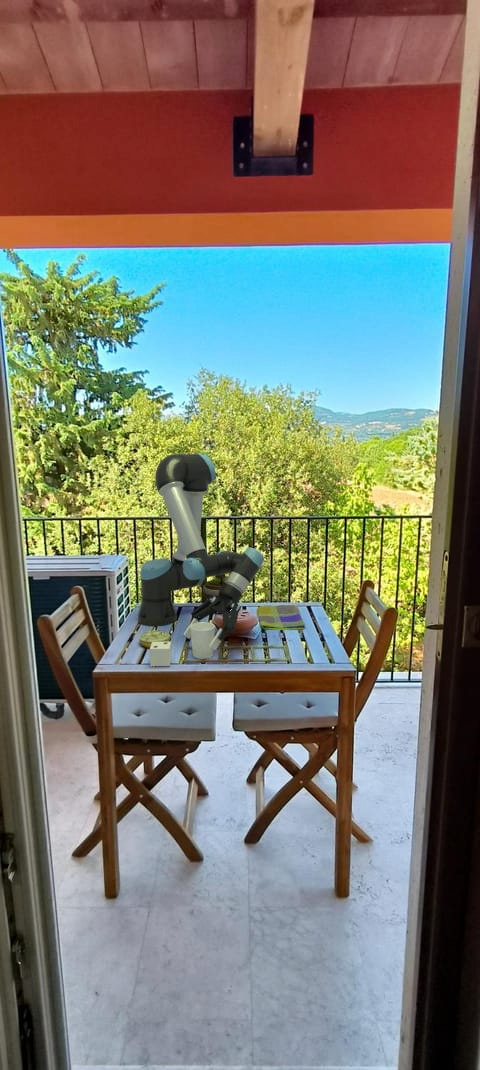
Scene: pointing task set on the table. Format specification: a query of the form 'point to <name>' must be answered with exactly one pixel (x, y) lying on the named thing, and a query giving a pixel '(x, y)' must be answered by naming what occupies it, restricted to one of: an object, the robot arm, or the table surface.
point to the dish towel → (280, 617)
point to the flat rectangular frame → (239, 659)
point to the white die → (160, 654)
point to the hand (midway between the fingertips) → (198, 642)
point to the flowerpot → (214, 586)
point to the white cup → (202, 639)
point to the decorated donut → (153, 637)
